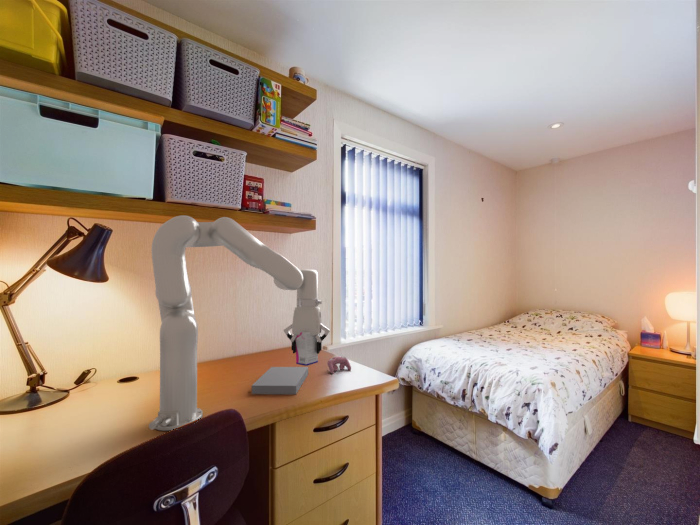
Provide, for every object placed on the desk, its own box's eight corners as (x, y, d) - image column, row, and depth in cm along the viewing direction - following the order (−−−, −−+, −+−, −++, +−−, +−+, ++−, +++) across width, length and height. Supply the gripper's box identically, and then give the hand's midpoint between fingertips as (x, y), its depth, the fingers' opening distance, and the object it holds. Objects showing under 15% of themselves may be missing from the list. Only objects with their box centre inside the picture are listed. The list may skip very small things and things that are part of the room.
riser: (296, 394, 107) (296, 385, 107) (251, 394, 108) (251, 385, 108) (308, 374, 129) (308, 366, 129) (271, 374, 130) (271, 366, 130)
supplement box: (318, 362, 109) (317, 330, 110) (306, 366, 104) (304, 332, 105) (308, 360, 113) (306, 329, 113) (295, 364, 108) (294, 331, 109)
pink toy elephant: (348, 372, 136) (345, 356, 139) (352, 369, 132) (349, 353, 135) (328, 375, 131) (325, 359, 134) (331, 373, 128) (328, 356, 131)
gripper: (332, 303, 113) (331, 350, 112) (286, 302, 114) (285, 349, 113) (329, 304, 105) (329, 355, 105) (280, 304, 107) (279, 354, 106)
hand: (306, 352), depth 109 cm, fingers closed on supplement box, 8 cm apart
